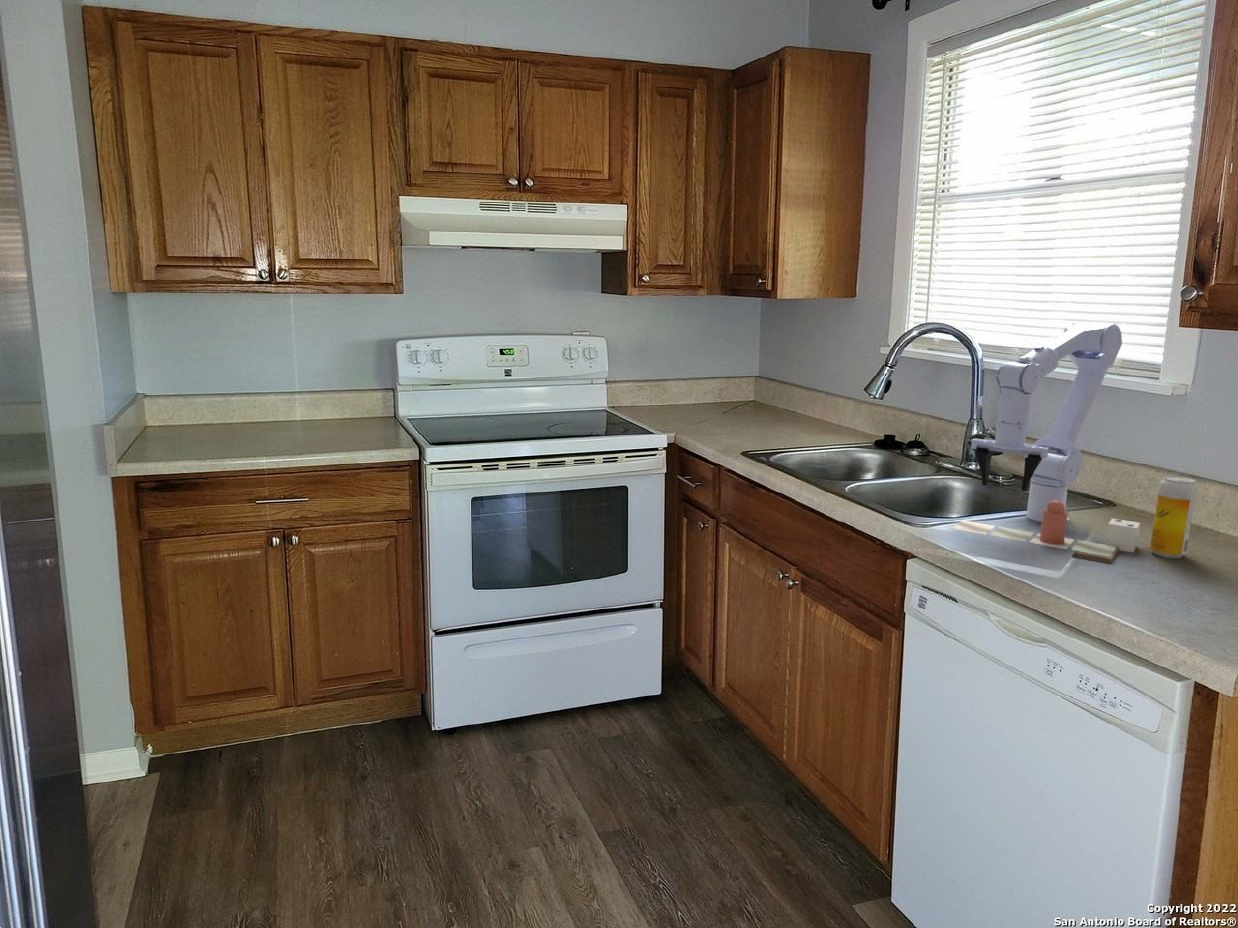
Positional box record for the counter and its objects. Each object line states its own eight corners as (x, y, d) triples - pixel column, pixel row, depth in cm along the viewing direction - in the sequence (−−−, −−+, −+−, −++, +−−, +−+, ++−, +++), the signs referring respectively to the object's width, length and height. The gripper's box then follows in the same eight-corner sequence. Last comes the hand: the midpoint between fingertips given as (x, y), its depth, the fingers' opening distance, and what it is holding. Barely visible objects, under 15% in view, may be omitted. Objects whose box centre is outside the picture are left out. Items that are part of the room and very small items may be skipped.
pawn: (1042, 536, 187) (1046, 496, 185) (1065, 540, 185) (1071, 500, 183) (1037, 541, 184) (1042, 501, 182) (1061, 545, 181) (1067, 504, 179)
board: (961, 523, 199) (961, 519, 199) (1118, 550, 182) (1119, 546, 182) (947, 533, 191) (948, 529, 191) (1110, 563, 174) (1111, 558, 174)
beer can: (1152, 547, 185) (1164, 474, 182) (1187, 554, 182) (1200, 479, 178) (1146, 554, 181) (1158, 478, 178) (1182, 561, 177) (1194, 484, 174)
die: (1108, 542, 189) (1112, 518, 187) (1136, 547, 186) (1140, 522, 185) (1104, 547, 185) (1108, 523, 183) (1133, 552, 182) (1137, 527, 181)
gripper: (970, 420, 190) (963, 485, 192) (1046, 429, 182) (1038, 496, 184) (979, 416, 195) (972, 479, 198) (1053, 424, 187) (1045, 490, 190)
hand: (1004, 487), depth 192 cm, fingers open, 7 cm apart
